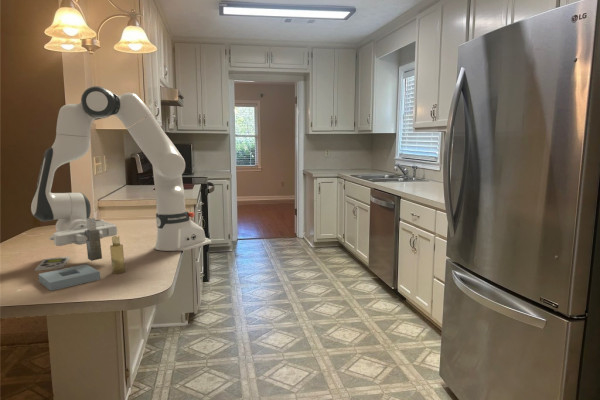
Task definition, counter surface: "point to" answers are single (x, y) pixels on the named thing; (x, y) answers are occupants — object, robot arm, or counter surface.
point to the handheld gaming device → (52, 263)
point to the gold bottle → (117, 256)
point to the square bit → (93, 240)
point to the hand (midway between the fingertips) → (93, 237)
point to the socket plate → (68, 277)
